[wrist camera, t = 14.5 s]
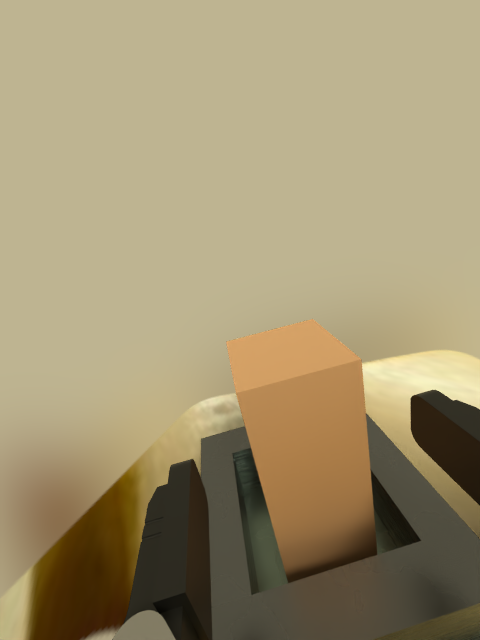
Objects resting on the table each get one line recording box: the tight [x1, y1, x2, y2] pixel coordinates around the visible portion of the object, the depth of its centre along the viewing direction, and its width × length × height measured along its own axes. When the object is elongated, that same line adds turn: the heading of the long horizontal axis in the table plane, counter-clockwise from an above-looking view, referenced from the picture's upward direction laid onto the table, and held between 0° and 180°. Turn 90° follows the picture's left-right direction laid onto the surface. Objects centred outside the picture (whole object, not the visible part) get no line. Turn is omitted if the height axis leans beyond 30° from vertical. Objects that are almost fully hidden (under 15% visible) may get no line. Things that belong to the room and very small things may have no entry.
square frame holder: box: [201, 414, 480, 640], centre depth 14 cm, size 12×12×4 cm
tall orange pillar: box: [227, 319, 377, 583], centre depth 13 cm, size 4×4×11 cm
